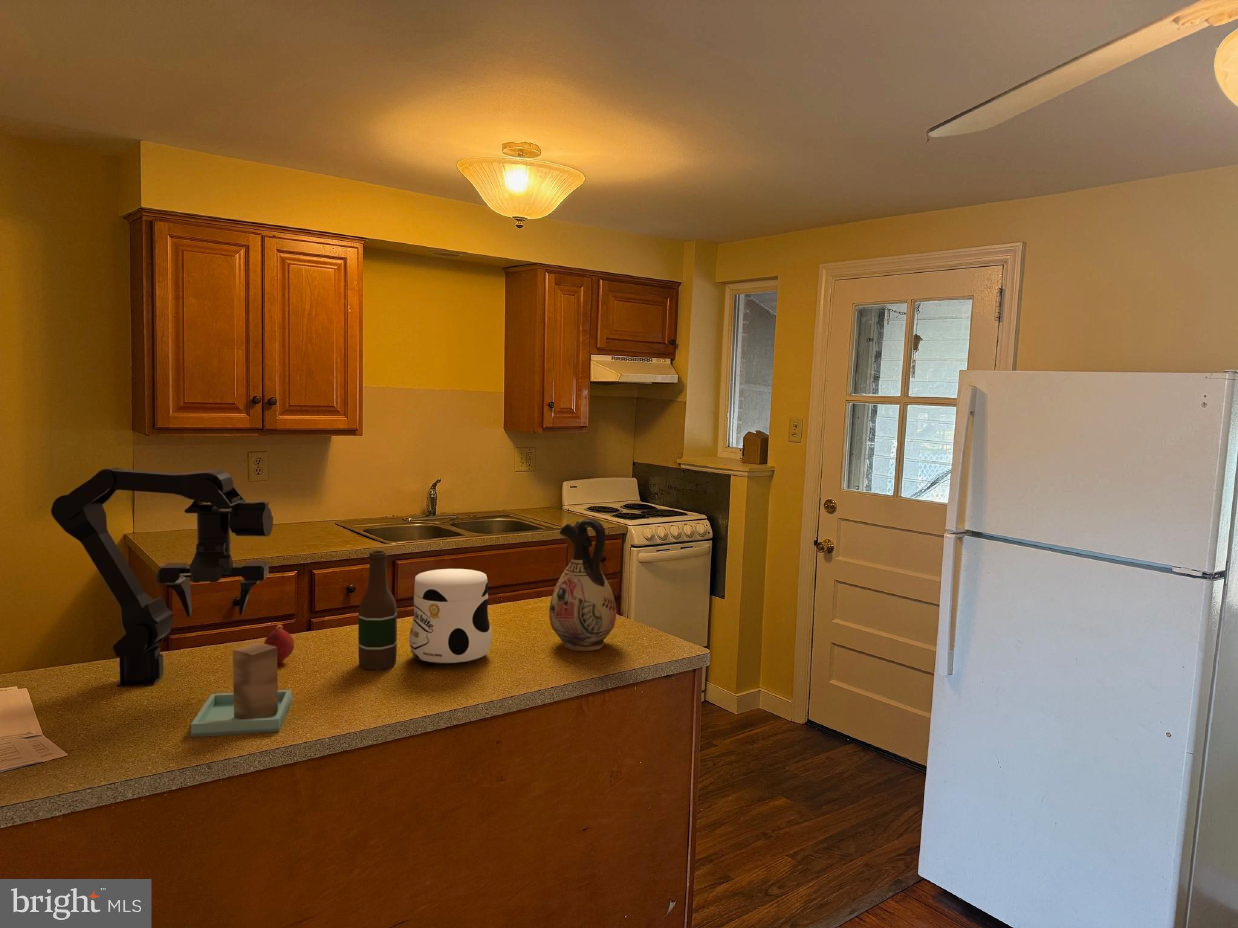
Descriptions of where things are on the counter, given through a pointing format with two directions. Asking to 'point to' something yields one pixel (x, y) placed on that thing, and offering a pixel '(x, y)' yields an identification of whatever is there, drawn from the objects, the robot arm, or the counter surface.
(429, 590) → the milk container
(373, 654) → the beer bottle
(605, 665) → the counter surface
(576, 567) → the ceramic jug
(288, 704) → the teal tray
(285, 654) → the onion
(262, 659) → the walnut block
